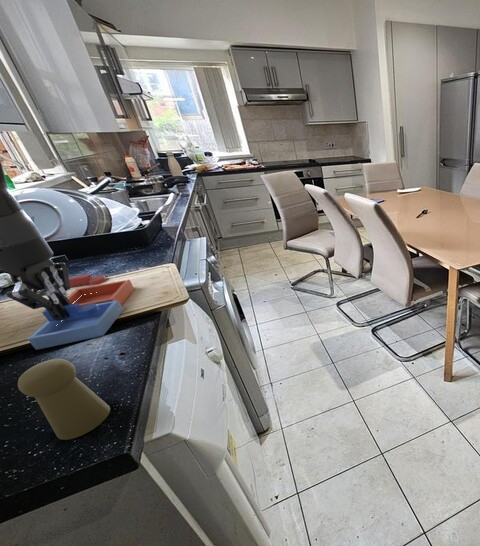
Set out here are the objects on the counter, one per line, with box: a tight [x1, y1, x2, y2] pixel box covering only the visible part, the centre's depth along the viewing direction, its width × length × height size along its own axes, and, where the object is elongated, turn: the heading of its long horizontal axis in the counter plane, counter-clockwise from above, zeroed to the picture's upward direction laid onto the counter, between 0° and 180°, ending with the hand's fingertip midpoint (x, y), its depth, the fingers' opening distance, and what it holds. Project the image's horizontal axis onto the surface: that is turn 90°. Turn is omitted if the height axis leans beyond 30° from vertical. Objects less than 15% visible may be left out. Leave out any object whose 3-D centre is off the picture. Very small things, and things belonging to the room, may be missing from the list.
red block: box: [69, 274, 107, 288], centre depth 85 cm, size 8×3×2 cm, turn 110°
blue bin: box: [27, 300, 124, 351], centre depth 67 cm, size 11×10×3 cm
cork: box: [17, 358, 111, 441], centre depth 44 cm, size 6×6×11 cm
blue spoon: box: [41, 303, 99, 322], centre depth 65 cm, size 8×3×2 cm, turn 110°
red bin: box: [66, 279, 135, 307], centre depth 76 cm, size 11×10×3 cm
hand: (65, 316), depth 65 cm, fingers closed on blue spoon, 1 cm apart
